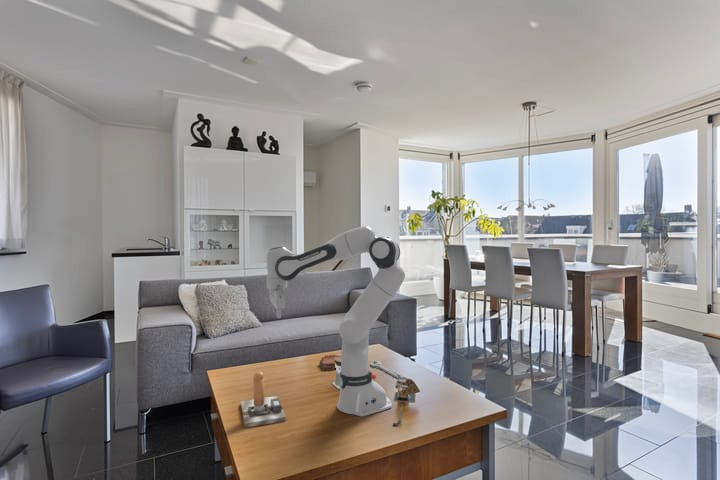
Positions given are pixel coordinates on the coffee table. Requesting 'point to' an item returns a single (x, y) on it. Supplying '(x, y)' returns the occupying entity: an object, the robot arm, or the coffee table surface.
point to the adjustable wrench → (384, 369)
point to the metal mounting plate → (263, 417)
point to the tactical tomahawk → (399, 415)
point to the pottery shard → (328, 362)
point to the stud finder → (275, 405)
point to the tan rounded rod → (258, 392)
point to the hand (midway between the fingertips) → (277, 315)
